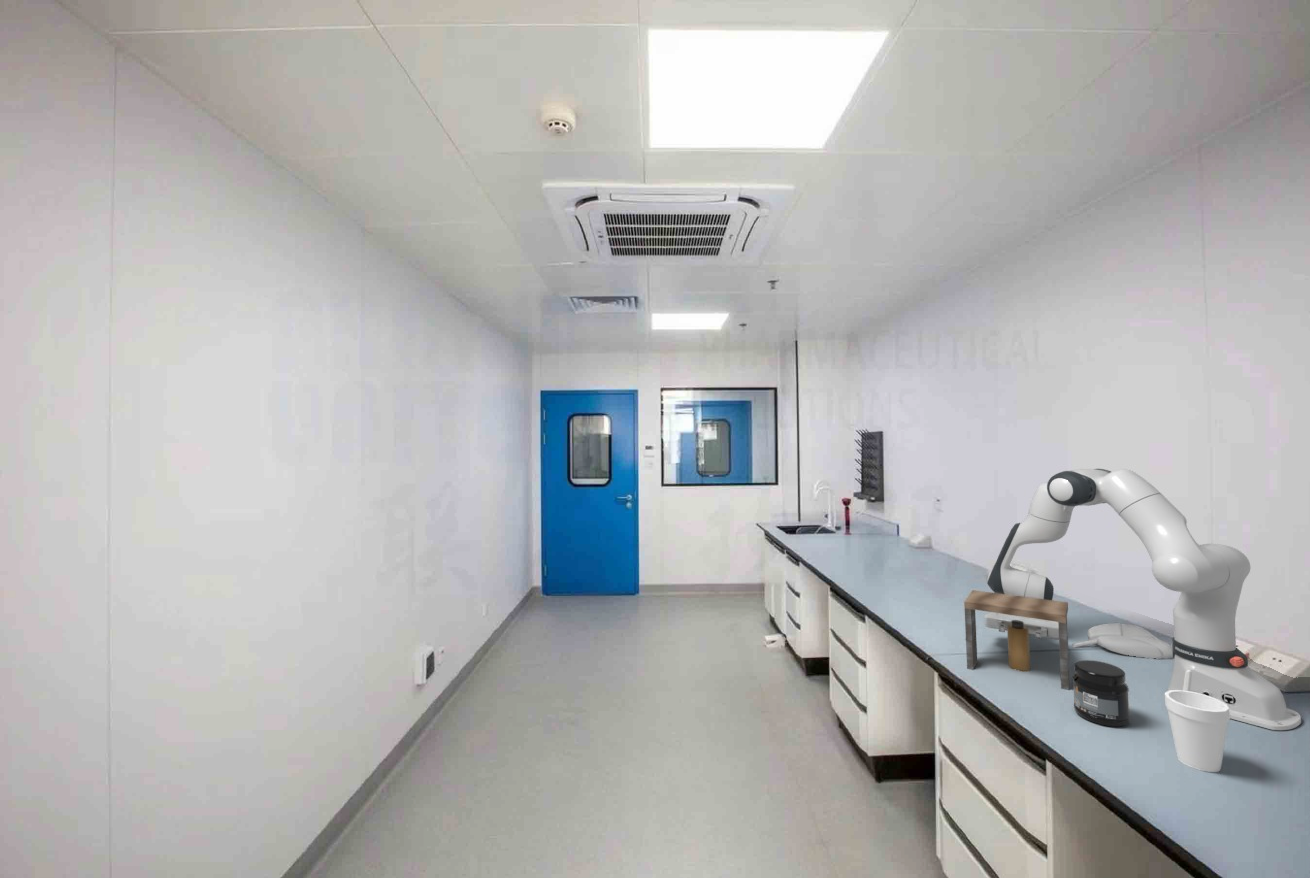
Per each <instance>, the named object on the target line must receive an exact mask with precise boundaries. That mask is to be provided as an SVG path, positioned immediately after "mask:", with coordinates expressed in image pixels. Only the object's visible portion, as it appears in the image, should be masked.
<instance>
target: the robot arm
mask: <svg viewBox="0 0 1310 878" xmlns="http://www.w3.org/2000/svg"><path fill="white" fill-rule="evenodd" d="M1100 504H1108V505H1109V506H1110V508H1112V509H1113V510H1114V511H1115V513H1116V514H1117V515H1118V516H1119V517H1120V518H1121V519H1122V520H1123V521H1124V522H1125V523H1126V524H1127V526H1128V527H1129V528H1130V529H1131V530H1132V531H1133V532H1134V533H1135V535H1136V536H1138V538H1139V539H1140V540H1141V542H1142V544H1143V545H1144V547H1145V549H1146V551H1147V553H1148V554H1149V556H1150V559H1151V571H1152V575H1153V577H1154V579H1155V580H1156V581H1157V582H1158V583H1159V584H1160V585H1161V586H1162V587H1164V588H1166V589H1168V590H1169V591H1173V592H1178V593H1179V592H1180V595H1179V598H1178V600H1177V602H1176V603H1175V604H1174V607H1173V609H1172V612H1173V613H1172V614H1173V615H1172V616H1173V618H1172V619H1173V637H1172V638H1171V639H1172V640H1171V647H1172V653H1173V658H1172V659H1173V669H1172V675H1171V679H1170V682H1169V685H1168V688H1167V691H1169V690H1183V691H1191V692H1196V693H1200V694H1204V695H1207V696H1210V697H1213V698H1216V699H1218V700H1220V701H1222V702H1224V703H1225V704H1227V706H1228V707H1229V715H1230V720H1234V721H1235V720H1236V721H1238V722H1242V723H1246V724H1249V725H1252V726H1257V727H1261V728H1265V729H1268V730H1272V731H1287V730H1292V729H1295V728H1297V727H1298V726H1299V725H1301V723H1302V717H1301V715H1300V713H1299V712H1297V711H1296V710H1294V709H1290V708H1288V707H1287V704H1286V700H1285V697H1284V695H1283V692H1282V691H1281V690H1280V688H1279V687H1277V685H1275V684H1273V683H1272V682H1270V681H1269V680H1268V679H1266V678H1265V677H1263V676H1262V675H1261V674H1259V673H1258V672H1256V671H1255V670H1254V669H1252V668H1251V667H1250V666H1249V660H1248V659H1250V652H1246V653H1244V652H1243V651H1241V650H1240V649H1239V648H1238V647H1237V641H1236V640H1237V639H1236V638H1237V636H1236V615H1237V610H1238V609H1237V608H1238V605H1239V601H1240V596H1241V594H1242V588H1243V585H1244V583H1245V581H1246V579H1247V577H1248V576H1249V574H1250V573H1251V563H1250V560H1249V558H1248V557H1247V556H1246V555H1245V554H1244V553H1243V552H1242V551H1241V550H1239V549H1238V548H1235V547H1233V546H1230V545H1226V544H1219V543H1204V544H1199V543H1198V542H1197V541H1196V540H1195V539H1194V537H1193V536H1192V534H1191V532H1190V531H1189V529H1188V525H1187V523H1188V521H1187V519H1186V517H1185V515H1184V514H1183V513H1182V512H1180V511H1179V510H1178V508H1177V507H1175V505H1173V504H1172V502H1171V501H1170V500H1168V498H1166V497H1165V495H1164V494H1163V493H1162V492H1160V491H1159V490H1158V489H1157V488H1156V487H1155V486H1154V485H1152V483H1150V482H1149V481H1148V480H1146V479H1145V478H1143V476H1141V475H1139V474H1138V473H1136V472H1135V471H1133V470H1131V469H1125V468H1123V469H1121V468H1120V469H1116V470H1113V471H1111V470H1108V469H1104V468H1078V469H1072V470H1063V471H1061V472H1058V473H1056V474H1054V475H1052V476H1051V477H1050V478H1049V480H1048V481H1046V482H1043V483H1040V484H1039V485H1038V486H1037V487H1036V490H1035V492H1034V493H1033V496H1032V499H1031V501H1030V504H1029V509H1028V512H1027V515H1026V517H1025V518H1024V520H1022V521H1021V522H1017V523H1015V524H1014V525H1013V526H1012V528H1011V529H1010V531H1009V533H1008V535H1007V537H1006V538H1005V541H1004V543H1003V545H1002V548H1001V549H1000V552H999V554H998V557H997V560H996V562H995V563H994V565H993V566H992V567H991V569H990V570H989V572H988V574H987V576H986V577H987V578H986V579H987V581H986V583H987V585H988V587H989V588H990V590H991V591H992V593H999V594H1007V595H1015V596H1023V597H1030V598H1038V599H1046V600H1053V598H1054V585H1053V583H1052V582H1051V580H1050V579H1049V578H1048V577H1047V576H1043V575H1040V574H1038V573H1037V574H1036V573H1033V572H1028V571H1026V570H1023V569H1022V570H1021V569H1019V568H1014V567H1013V566H1011V562H1012V561H1013V558H1014V556H1015V554H1016V552H1017V550H1018V549H1019V548H1020V547H1021V546H1024V545H1030V544H1046V543H1053V542H1055V541H1058V540H1060V539H1062V538H1063V537H1065V536H1066V534H1067V531H1068V529H1069V526H1070V524H1071V523H1070V522H1071V519H1072V514H1073V511H1074V508H1075V507H1078V506H1080V507H1081V506H1088V507H1089V506H1095V505H1100ZM983 619H984V621H983V622H984V626H985V627H986V628H989V629H993V630H994V629H995V630H998V632H1002V633H1005V632H1006V631H1007V625H1009V624H1011V621H1012V620H1019V621H1022V622H1024V626H1026V627H1028V632H1029V635H1030V636H1035V638H1036V639H1043V638H1048V639H1055V640H1059V625H1058V622H1055V621H1048V620H1041V619H1035V618H1028V617H1021V616H1014V615H1008V614H1001V613H994V612H988V613H986V614H985V615H984V617H983Z"/></svg>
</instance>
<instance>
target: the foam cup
mask: <svg viewBox="0 0 1310 878" xmlns="http://www.w3.org/2000/svg"><path fill="white" fill-rule="evenodd" d="M1164 704H1165V708H1166V709H1167V713H1168V719H1169V723H1170V728H1171V733H1172V737H1173V742H1174V748H1175V752H1176V755H1177V759H1178V761H1179V762H1181V763H1182V764H1183V765H1185V766H1188V767H1189V768H1192V769H1194V770H1199V771H1201V772H1208V773H1218V772H1220V771H1221V768H1222V766H1223V765H1222V764H1223V758H1224V751H1225V744H1226V739H1227V731H1228V726H1229V725H1228V723H1229V721H1231V718H1230V715H1229V707H1228V706H1227V704H1225V703H1224V702H1222V701H1220V700H1218V699H1216V698H1213V697H1210V696H1207V695H1204V694H1200V693H1196V692H1191V691H1183V690H1169V691H1168V690H1167V691H1166V692H1164Z"/></svg>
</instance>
